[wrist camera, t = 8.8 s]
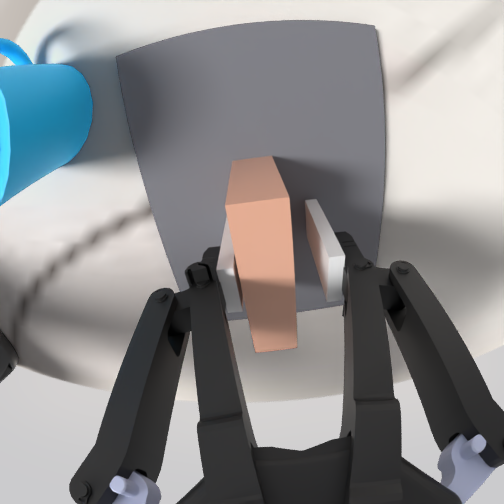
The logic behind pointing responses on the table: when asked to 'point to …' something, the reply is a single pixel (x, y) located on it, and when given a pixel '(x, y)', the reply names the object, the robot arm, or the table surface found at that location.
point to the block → (263, 251)
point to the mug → (39, 118)
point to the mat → (260, 132)
